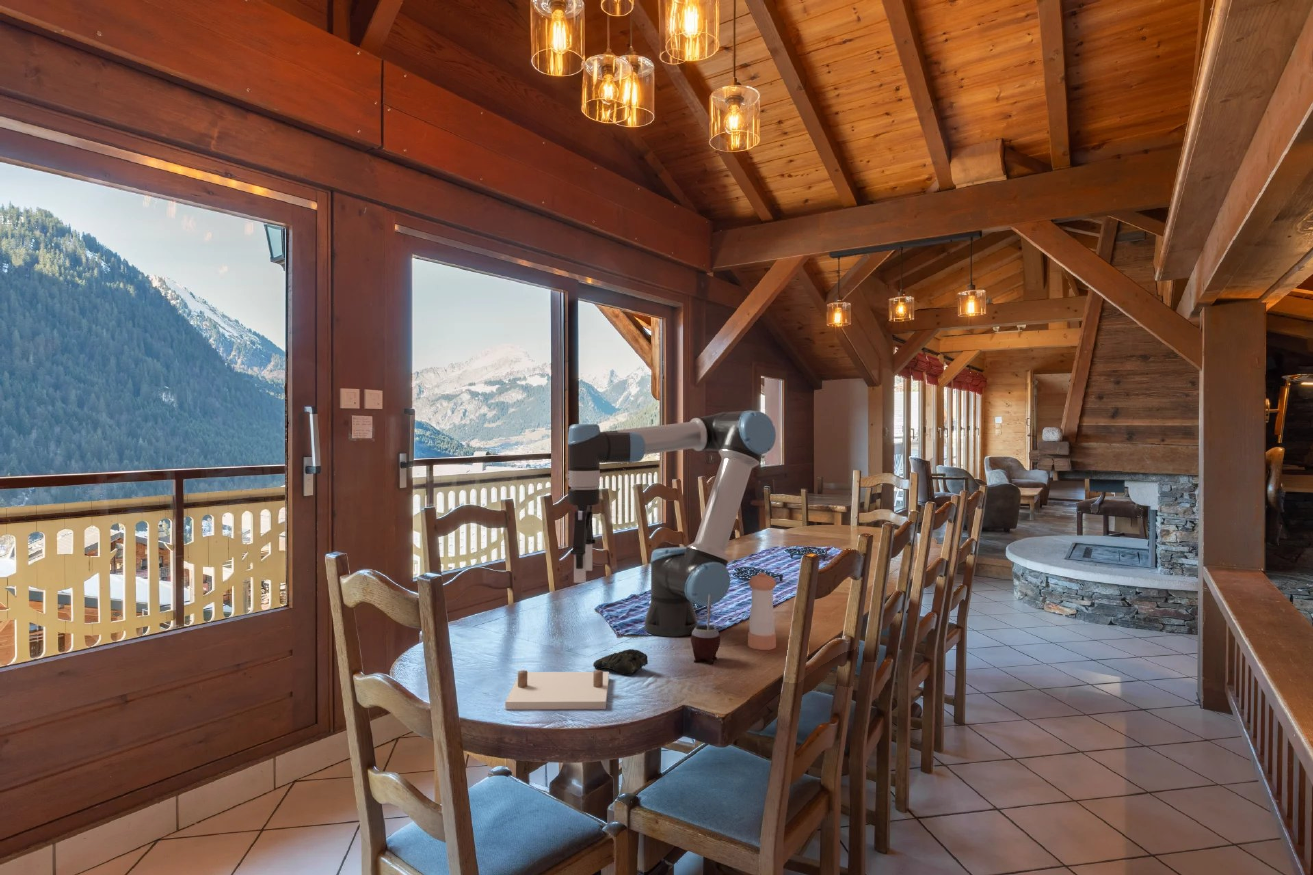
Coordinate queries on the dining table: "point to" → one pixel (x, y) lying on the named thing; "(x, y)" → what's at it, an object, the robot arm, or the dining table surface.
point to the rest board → (559, 690)
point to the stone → (623, 661)
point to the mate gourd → (705, 640)
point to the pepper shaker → (762, 613)
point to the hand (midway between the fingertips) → (583, 576)
